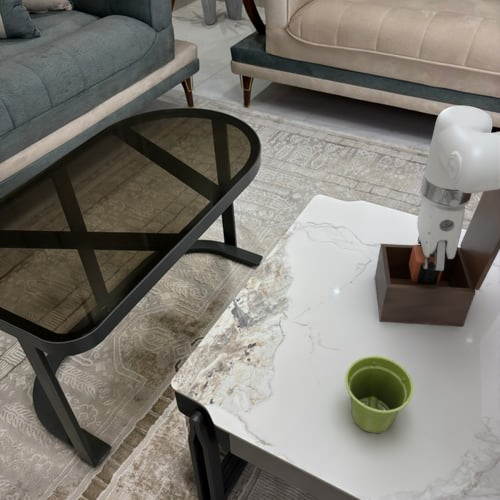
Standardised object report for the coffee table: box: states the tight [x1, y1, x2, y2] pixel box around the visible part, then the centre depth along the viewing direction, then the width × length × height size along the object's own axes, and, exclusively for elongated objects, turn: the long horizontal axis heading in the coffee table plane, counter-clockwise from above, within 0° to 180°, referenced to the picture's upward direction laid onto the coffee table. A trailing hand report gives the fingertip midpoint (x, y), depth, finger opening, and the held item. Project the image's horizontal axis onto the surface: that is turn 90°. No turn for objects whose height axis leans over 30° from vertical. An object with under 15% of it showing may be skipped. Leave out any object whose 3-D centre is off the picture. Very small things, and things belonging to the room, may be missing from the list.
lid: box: [459, 189, 500, 291], centre depth 82 cm, size 16×12×5 cm
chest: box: [374, 243, 477, 328], centre depth 91 cm, size 15×12×9 cm
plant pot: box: [344, 355, 414, 434], centre depth 74 cm, size 9×9×9 cm
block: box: [409, 244, 445, 283], centre depth 88 cm, size 5×5×5 cm
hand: (424, 271), depth 89 cm, fingers closed on block, 4 cm apart
